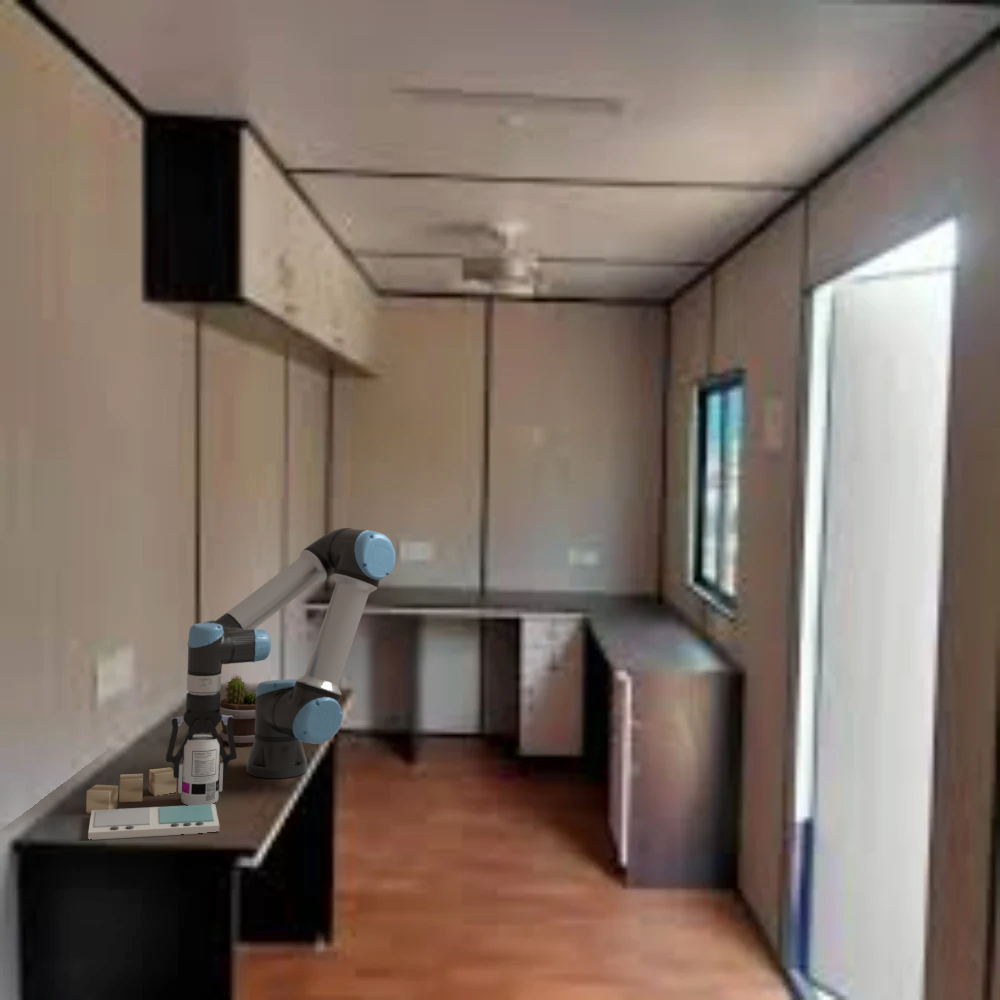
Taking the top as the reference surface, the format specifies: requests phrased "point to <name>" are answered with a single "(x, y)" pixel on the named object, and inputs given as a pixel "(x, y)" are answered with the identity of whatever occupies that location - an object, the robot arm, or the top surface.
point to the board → (152, 821)
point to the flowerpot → (239, 712)
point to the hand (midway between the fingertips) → (200, 790)
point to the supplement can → (200, 770)
